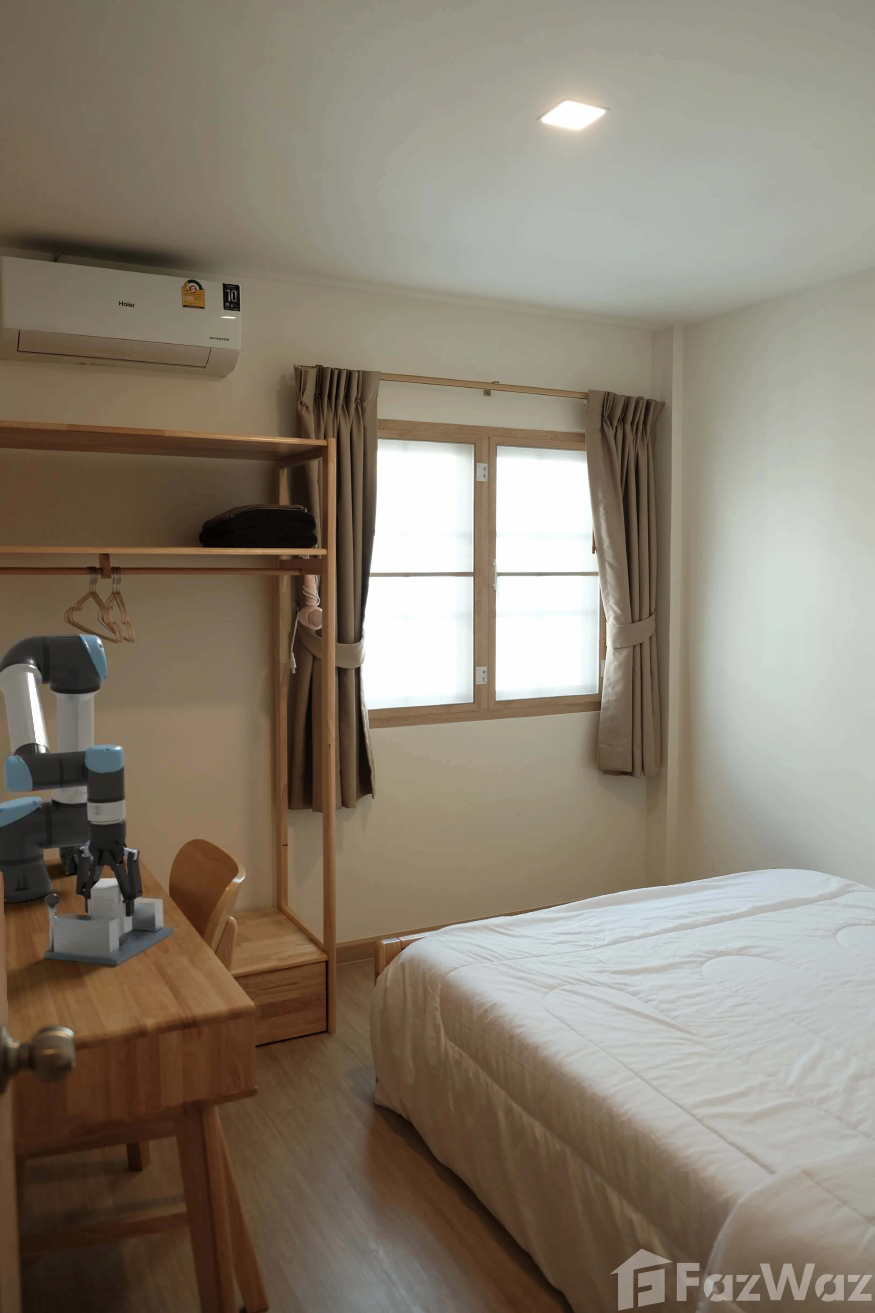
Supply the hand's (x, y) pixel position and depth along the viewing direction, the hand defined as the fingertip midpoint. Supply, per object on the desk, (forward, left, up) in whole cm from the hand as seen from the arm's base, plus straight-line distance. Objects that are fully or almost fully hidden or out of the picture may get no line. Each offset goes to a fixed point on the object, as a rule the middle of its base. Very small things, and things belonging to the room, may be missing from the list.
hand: (110, 930), depth 206 cm
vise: (0, 0, -3) cm, 3 cm away
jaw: (-8, 0, -2) cm, 8 cm away
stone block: (-54, -48, -3) cm, 72 cm away
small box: (0, 0, -1) cm, 1 cm away
